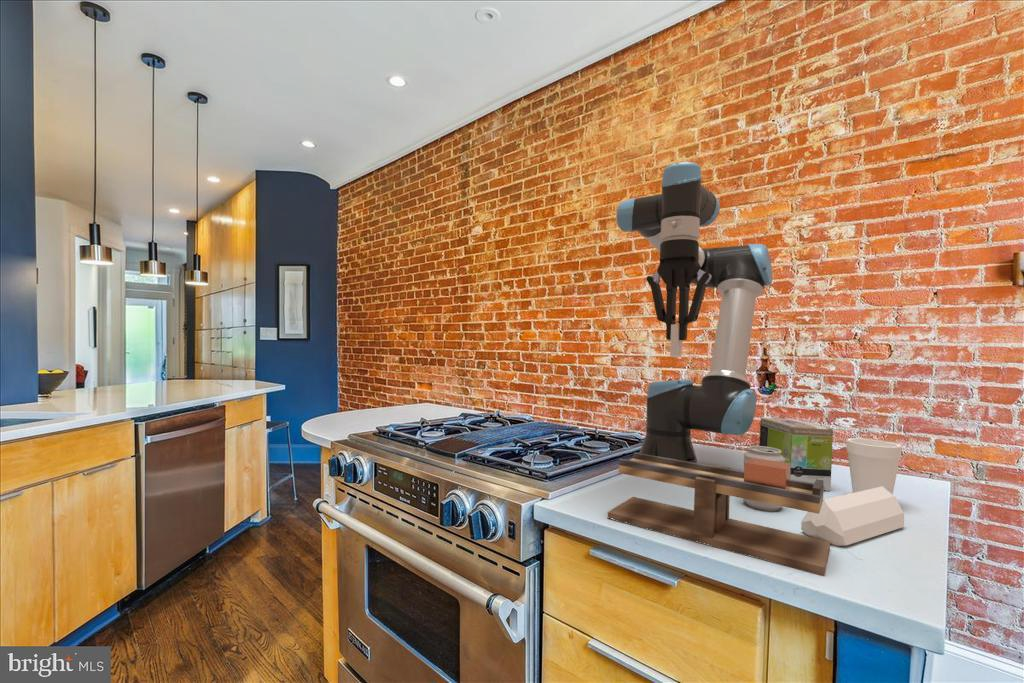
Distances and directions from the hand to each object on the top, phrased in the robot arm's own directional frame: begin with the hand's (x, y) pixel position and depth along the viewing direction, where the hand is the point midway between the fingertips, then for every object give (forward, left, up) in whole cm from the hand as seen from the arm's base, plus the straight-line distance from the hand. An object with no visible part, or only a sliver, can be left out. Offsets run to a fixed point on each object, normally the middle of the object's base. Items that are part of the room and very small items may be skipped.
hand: (675, 356), depth 99 cm
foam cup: (-10, +44, -31) cm, 54 cm away
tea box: (-24, +34, -31) cm, 52 cm away
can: (-3, +19, -31) cm, 36 cm away
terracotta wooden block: (+18, +11, -21) cm, 30 cm away
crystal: (+8, +30, -31) cm, 44 cm away
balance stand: (+14, +4, -30) cm, 34 cm away
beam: (+14, +4, -21) cm, 26 cm away
